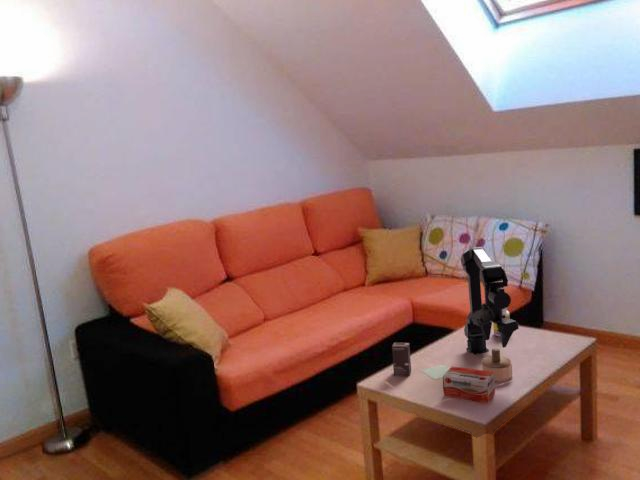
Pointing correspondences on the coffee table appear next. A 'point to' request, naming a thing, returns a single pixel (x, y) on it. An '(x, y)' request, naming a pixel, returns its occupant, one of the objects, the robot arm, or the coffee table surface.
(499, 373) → the bowl
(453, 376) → the medicine box
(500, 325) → the robot arm
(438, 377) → the mat
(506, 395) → the coffee table surface
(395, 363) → the box
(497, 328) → the supplement bottle
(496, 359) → the lid
